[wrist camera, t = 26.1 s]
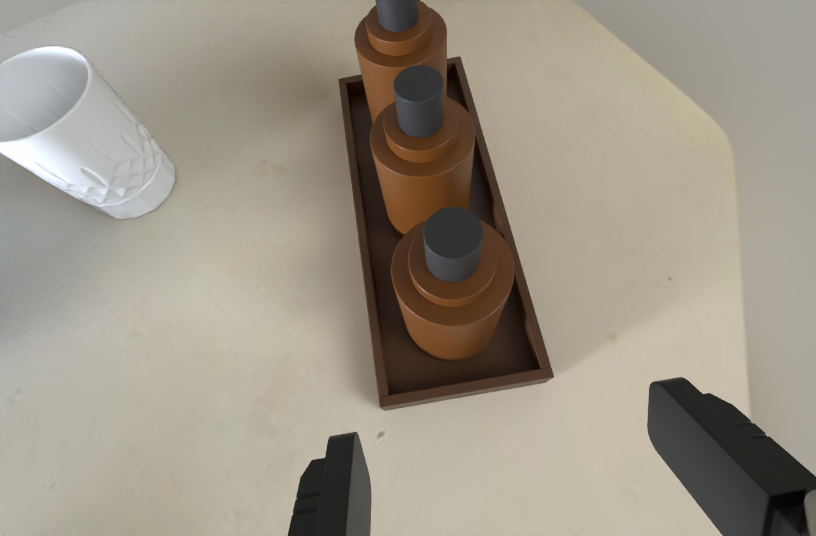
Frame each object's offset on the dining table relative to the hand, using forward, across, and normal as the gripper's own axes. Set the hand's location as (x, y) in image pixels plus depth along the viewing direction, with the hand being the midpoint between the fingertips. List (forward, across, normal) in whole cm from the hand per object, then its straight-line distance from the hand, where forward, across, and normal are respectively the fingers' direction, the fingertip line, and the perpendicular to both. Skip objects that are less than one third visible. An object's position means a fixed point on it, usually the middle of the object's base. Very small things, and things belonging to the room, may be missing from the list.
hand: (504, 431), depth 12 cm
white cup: (+27, +23, -6) cm, 36 cm away
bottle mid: (+21, 0, -1) cm, 21 cm away
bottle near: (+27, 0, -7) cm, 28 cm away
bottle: (+16, 0, +5) cm, 16 cm away
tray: (+22, 0, 0) cm, 22 cm away
